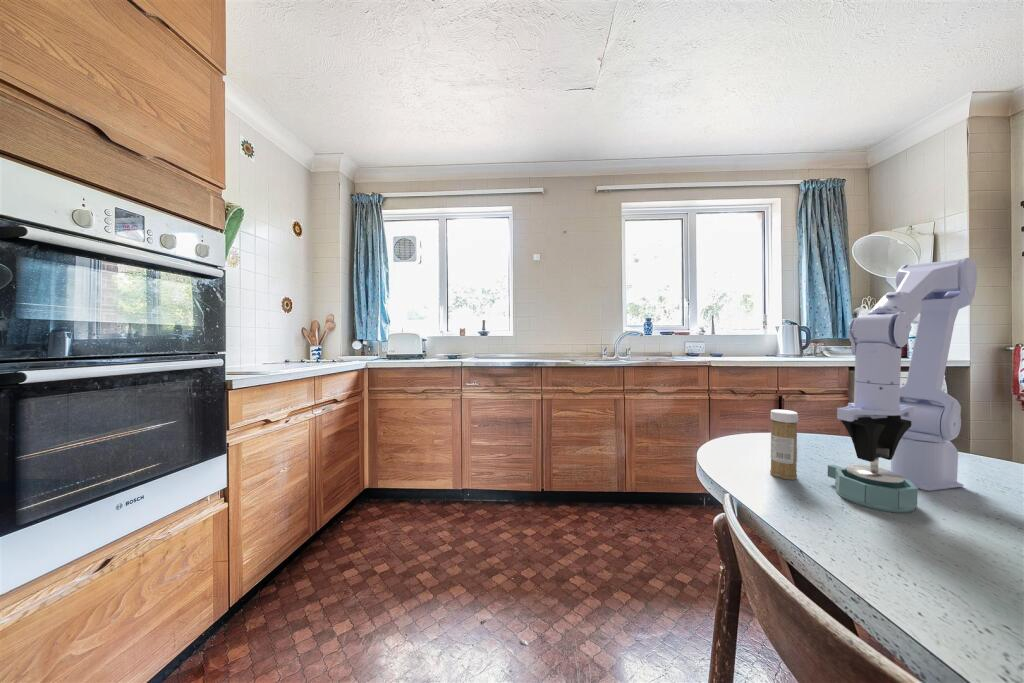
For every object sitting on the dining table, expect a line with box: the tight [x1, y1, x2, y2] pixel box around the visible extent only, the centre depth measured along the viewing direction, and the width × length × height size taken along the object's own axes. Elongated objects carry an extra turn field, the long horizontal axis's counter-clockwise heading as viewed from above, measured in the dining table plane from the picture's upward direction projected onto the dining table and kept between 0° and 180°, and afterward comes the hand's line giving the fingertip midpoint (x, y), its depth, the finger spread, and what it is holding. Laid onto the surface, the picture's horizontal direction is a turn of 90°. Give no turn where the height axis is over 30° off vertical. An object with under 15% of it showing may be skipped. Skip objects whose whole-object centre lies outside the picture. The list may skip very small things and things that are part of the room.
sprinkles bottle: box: [769, 409, 799, 481], centre depth 76 cm, size 5×5×13 cm
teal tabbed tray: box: [827, 464, 919, 514], centre depth 67 cm, size 10×12×4 cm
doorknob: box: [846, 444, 904, 484], centre depth 66 cm, size 7×7×5 cm
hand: (874, 458), depth 65 cm, fingers closed on doorknob, 4 cm apart
